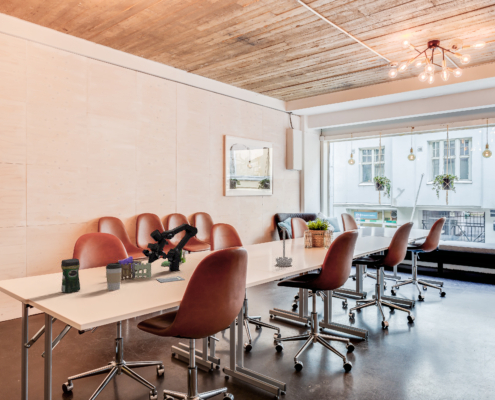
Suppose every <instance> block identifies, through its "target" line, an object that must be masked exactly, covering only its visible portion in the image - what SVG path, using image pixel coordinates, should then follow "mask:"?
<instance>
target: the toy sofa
mask: <svg viewBox="0 0 495 400" xmlns="http://www.w3.org/2000/svg"><path fill="white" fill-rule="evenodd" d="M133 259H134V257H133V256H132V255H129V256H128V257H126V258H124V259H118V260H117V262H118V263H120V265H121V264H123V265H124V264H127V265H128V263H131V273H132V263H135V264H137V263H139V264H142V263H143V262H142V260H137V259H136V260H135V259H134V260H133ZM135 271H137V269H135ZM139 271H142V269H139ZM123 274H124V270H123ZM127 274H128V270H127Z"/></svg>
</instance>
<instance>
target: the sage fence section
mask: <svg viewBox="0 0 495 400" xmlns="http://www.w3.org/2000/svg"><path fill="white" fill-rule="evenodd" d="M135 269H137V270H135ZM139 269H141V272H140V270H139ZM144 271H145V272H144ZM140 277H141V278H142V279H143V278H145V277H146V278H148V279H151V278H152V263H148V262H146V263H144V262H141V264H139V263H137V264H135V263H132V272H131V279H132V278H137V279H138V278H140Z"/></svg>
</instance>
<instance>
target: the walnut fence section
mask: <svg viewBox="0 0 495 400" xmlns="http://www.w3.org/2000/svg"><path fill="white" fill-rule="evenodd" d="M121 267H122V268H121V281H122V280H127V279H128V280H130V279H131V280H132V272H131V263H128V265H127V264H124V265H123V264H121ZM123 270H124V274H123ZM127 270H128V274H127ZM127 277H128V278H127Z"/></svg>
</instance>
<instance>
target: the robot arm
mask: <svg viewBox="0 0 495 400" xmlns="http://www.w3.org/2000/svg"><path fill="white" fill-rule="evenodd" d="M183 231H184V232H185V233H184V235H183V237H181V239H180V241H179V242H178V243H177V245H175V248H174V247H173V248H170V249H169V250H168V251H167V254H166V252H165V251H164V247H165V246H168V245H170V244H169V241H170V240H171V239H173V238H174V237H175V236H176V235H177V234H180V233H181V232H183ZM198 233H199V230H198V227H196V226H193V225H190V224H189V223H181V224H180V225H178V226H176V227H174V228H172V229H169V230H163V231H162V232H161V231H160V230H159V229H155V230H153V231H151V233H150V238H152V239H153V241H154V243H151V242H147V246H146V248H147V249H145V248H144V249H143V250H142V251H141V253H142V254H143V255H144V256H145V257H146V258H148V260H147V263H151V264H152V263H154V262H156V261H158V260H160V257H161V258H162V260H167V261H168V262H170V264H169V266H168V270H169V271H170V272H177V271H178V272H180V265H179V262H181V258H180V257H179V256H180V251H181V250H182V251H183V249H184V247H185V246H186V245H187V244H188V242H189V241H190V240H191V239H192V238H194V237H195V236H196V235H197V234H198ZM149 249H150V250H149Z"/></svg>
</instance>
